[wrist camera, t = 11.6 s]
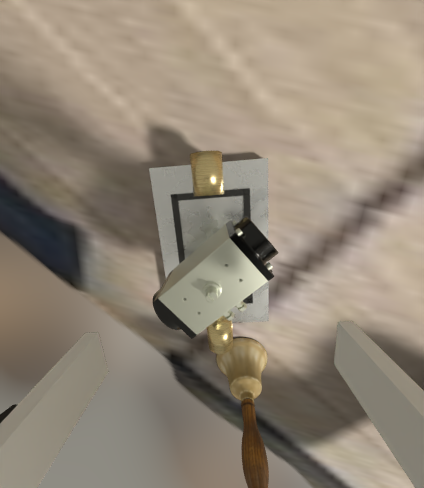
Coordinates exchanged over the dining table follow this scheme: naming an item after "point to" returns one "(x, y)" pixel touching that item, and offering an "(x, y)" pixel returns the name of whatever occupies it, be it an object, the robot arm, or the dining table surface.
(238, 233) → the pneumatic valve
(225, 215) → the plate
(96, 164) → the dining table surface
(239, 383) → the hand bell
